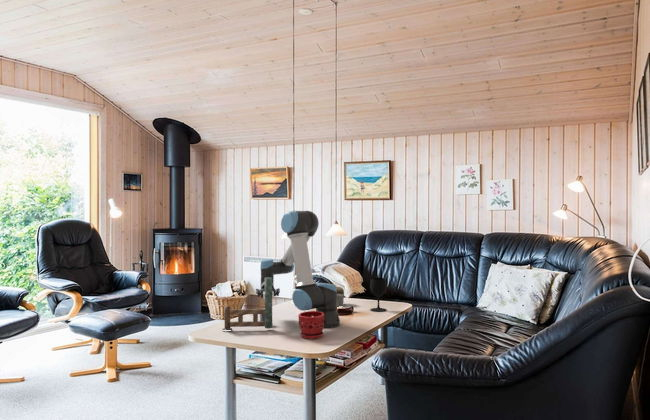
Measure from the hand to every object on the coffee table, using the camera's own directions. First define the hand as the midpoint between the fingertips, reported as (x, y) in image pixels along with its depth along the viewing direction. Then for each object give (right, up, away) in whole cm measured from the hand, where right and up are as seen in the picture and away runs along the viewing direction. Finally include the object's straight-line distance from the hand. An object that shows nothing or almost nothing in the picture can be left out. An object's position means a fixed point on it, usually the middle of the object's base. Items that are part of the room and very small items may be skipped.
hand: (268, 296), depth 272 cm
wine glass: (+63, -18, +54) cm, 85 cm away
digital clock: (+33, -18, +54) cm, 66 cm away
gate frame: (-13, -19, +10) cm, 25 cm away
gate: (-11, -18, +5) cm, 21 cm away
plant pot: (+23, -19, -10) cm, 31 cm away
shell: (+37, -18, +72) cm, 83 cm away
